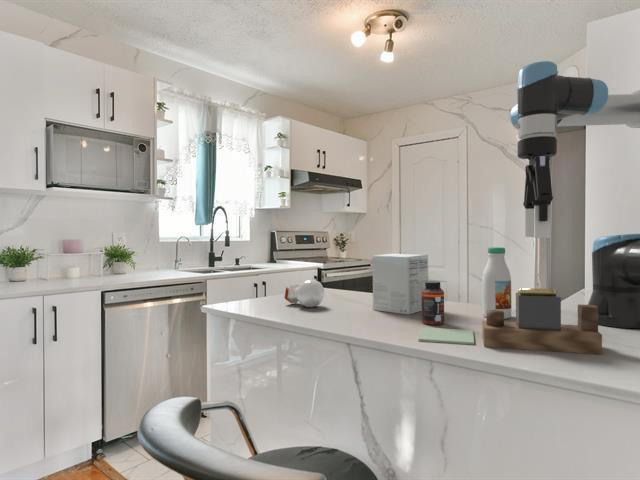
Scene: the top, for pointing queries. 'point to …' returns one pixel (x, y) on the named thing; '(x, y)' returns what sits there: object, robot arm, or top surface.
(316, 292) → the potion bottle
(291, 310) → the top surface
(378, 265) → the supplement box
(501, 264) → the milk bottle
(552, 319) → the lever cap
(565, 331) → the plane body
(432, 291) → the supplement bottle
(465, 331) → the mat
